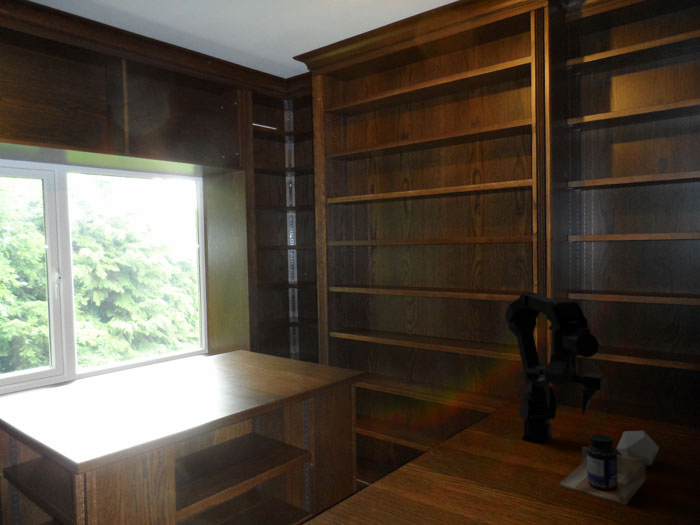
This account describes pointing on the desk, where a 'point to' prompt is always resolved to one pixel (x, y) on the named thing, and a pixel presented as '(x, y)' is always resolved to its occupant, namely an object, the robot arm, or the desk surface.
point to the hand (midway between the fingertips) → (565, 410)
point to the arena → (628, 479)
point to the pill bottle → (602, 463)
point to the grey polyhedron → (637, 446)
